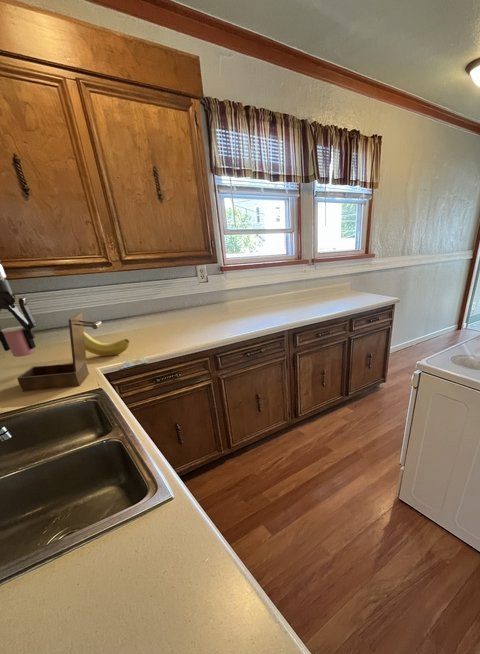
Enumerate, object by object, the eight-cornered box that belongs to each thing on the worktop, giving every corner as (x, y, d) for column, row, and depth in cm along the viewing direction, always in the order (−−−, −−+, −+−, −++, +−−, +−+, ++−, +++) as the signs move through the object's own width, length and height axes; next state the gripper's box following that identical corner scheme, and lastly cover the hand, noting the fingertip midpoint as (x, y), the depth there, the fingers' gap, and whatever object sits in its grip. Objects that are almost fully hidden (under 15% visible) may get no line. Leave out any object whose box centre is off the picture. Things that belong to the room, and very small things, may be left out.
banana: (132, 350, 170) (122, 312, 161) (131, 354, 166) (121, 314, 156) (82, 356, 163) (69, 316, 154) (80, 360, 158) (66, 318, 149)
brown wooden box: (23, 393, 125) (16, 378, 122) (37, 380, 136) (32, 366, 133) (80, 387, 129) (75, 373, 126) (90, 375, 140) (85, 362, 137)
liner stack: (8, 357, 112) (-4, 331, 108) (19, 351, 118) (8, 327, 113) (28, 356, 113) (18, 330, 109) (38, 350, 118) (28, 325, 114)
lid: (68, 319, 118) (94, 322, 120) (79, 312, 129) (103, 315, 131) (73, 371, 126) (98, 373, 129) (84, 361, 137) (106, 362, 140)
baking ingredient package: (148, 361, 153) (114, 369, 145) (148, 362, 154) (114, 370, 145) (142, 356, 159) (109, 364, 151) (143, 357, 160) (109, 365, 151)
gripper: (-54, 282, 98) (-19, 354, 109) (22, 279, 103) (48, 349, 113) (-38, 279, 105) (-7, 348, 115) (33, 277, 109) (56, 343, 120)
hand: (20, 348), depth 114 cm, fingers open, 7 cm apart
